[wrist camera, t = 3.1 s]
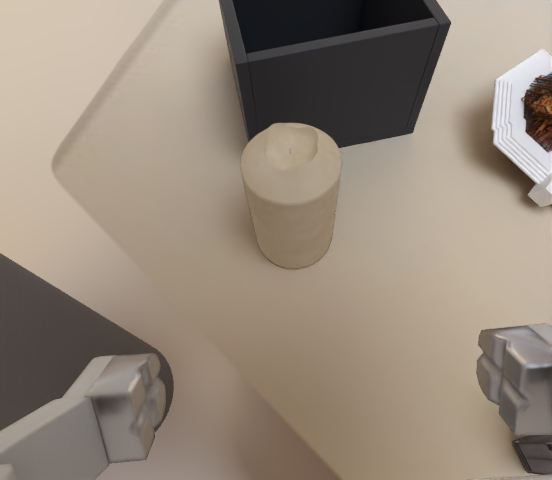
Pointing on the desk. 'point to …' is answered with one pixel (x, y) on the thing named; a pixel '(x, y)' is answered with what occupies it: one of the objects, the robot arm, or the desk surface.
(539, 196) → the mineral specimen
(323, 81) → the dark open square box
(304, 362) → the desk surface
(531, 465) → the mini dv tape
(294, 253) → the candle
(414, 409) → the desk surface
